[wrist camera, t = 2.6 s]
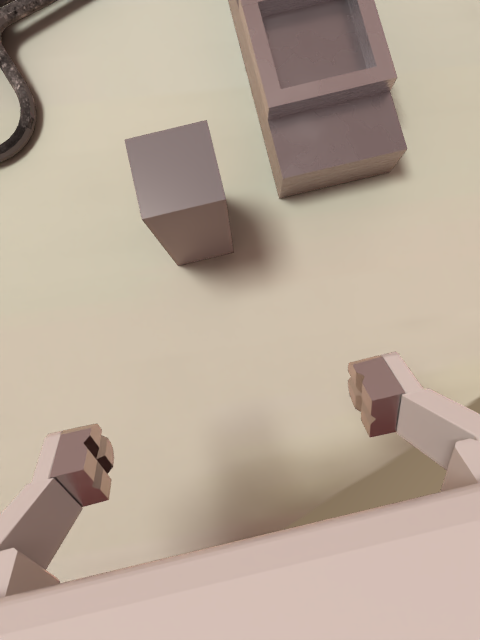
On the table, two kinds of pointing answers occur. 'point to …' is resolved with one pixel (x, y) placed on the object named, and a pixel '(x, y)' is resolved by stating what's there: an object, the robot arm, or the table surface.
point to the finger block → (181, 192)
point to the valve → (18, 76)
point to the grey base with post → (320, 89)
